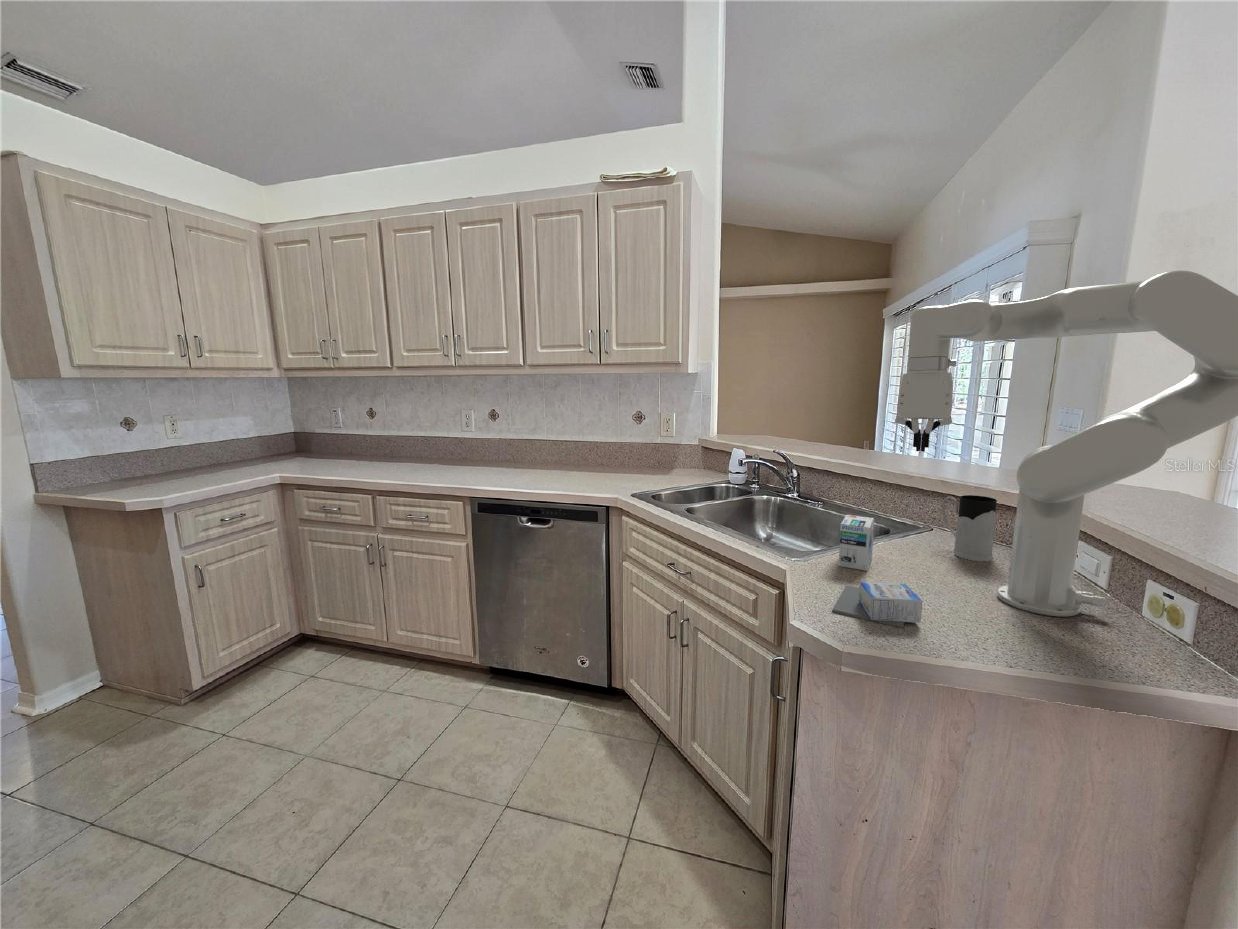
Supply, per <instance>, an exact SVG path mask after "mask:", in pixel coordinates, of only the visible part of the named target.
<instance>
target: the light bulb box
mask: <svg viewBox="0 0 1238 929" xmlns="http://www.w3.org/2000/svg"><path fill="white" fill-rule="evenodd" d="M839 528H840V532H839V533H840V535H839V550H838V567H843V568H848V569H849V568H850V569H852V570H853V569H854V570H859V571H866V572H868V571H869V569H870V565H871V563H872V560H873V548H874V536H875V534H874V532H875V518H874V517H867V516H859V515H853V514H846V515H845V516H844V518H843V520H842V521H841V523H840V527H839Z"/></svg>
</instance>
